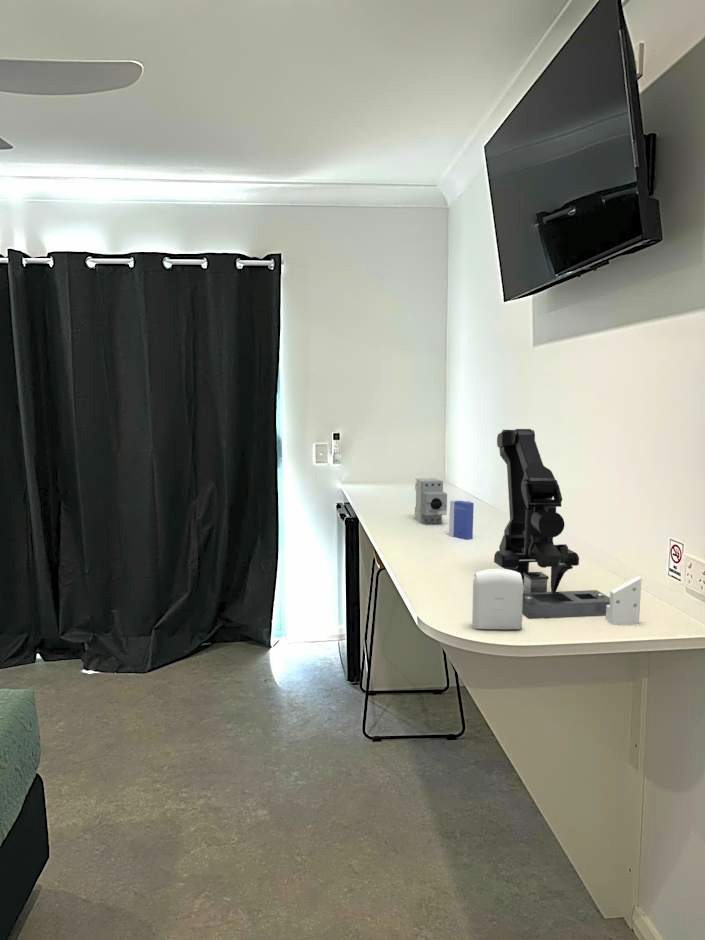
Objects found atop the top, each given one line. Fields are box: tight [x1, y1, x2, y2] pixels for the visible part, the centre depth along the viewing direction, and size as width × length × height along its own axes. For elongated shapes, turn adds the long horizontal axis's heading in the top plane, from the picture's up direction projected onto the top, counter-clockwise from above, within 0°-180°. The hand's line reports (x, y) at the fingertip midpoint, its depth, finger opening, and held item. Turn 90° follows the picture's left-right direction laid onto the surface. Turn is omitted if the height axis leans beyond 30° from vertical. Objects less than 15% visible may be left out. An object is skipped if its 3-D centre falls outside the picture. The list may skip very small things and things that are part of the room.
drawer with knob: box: [523, 571, 550, 593], centre depth 177 cm, size 4×4×6 cm
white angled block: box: [605, 575, 643, 625], centre depth 161 cm, size 4×10×9 cm, turn 92°
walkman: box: [448, 499, 474, 541], centre depth 245 cm, size 8×3×12 cm, turn 39°
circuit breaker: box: [414, 477, 448, 525], centre depth 269 cm, size 8×14×15 cm, turn 14°
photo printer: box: [471, 568, 524, 630], centre depth 156 cm, size 10×4×12 cm, turn 88°
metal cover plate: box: [522, 589, 610, 620], centre depth 169 cm, size 9×20×3 cm, turn 100°
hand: (535, 594), depth 177 cm, fingers open, 9 cm apart
